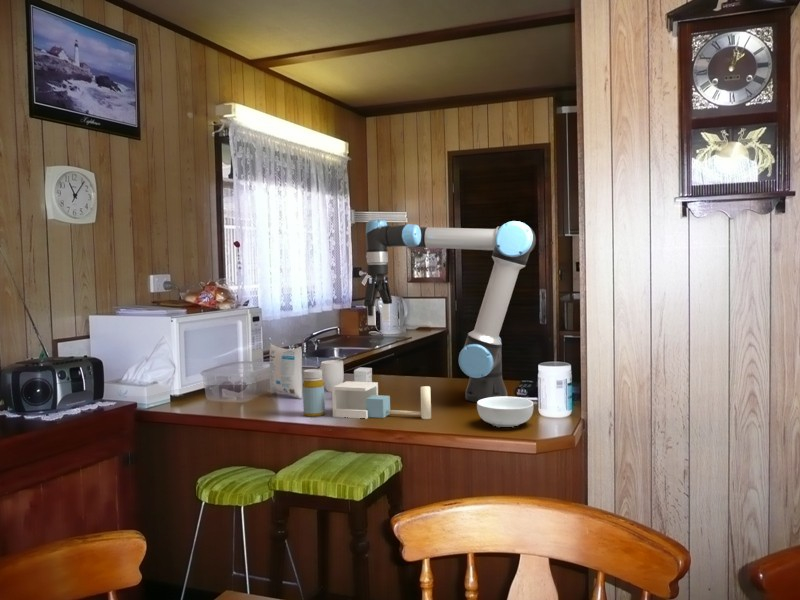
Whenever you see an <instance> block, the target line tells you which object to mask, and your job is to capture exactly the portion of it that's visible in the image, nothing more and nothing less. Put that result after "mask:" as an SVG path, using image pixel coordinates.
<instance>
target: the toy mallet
mask: <svg viewBox="0 0 800 600" xmlns="http://www.w3.org/2000/svg"><path fill="white" fill-rule="evenodd" d="M419 388H420V390H419V391H420V411H418V410H417V411H416V410H401V409H399V410H397V409H391V397H390V396H391V395H383V394H382V395H381V394H380V395H379V394H378V395H372V396H370V397H368V398H366V410H368V418H381V419H384V418H386V417H387V416H389V415H390V414H391V415H410V416H420V418H421V419H422V420H430V419H432V403H431V401H432V398H431V386H428V385H425V386H424V385H423V386H420V387H419Z"/></svg>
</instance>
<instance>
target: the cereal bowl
mask: <svg viewBox="0 0 800 600" xmlns="http://www.w3.org/2000/svg"><path fill="white" fill-rule="evenodd" d="M476 409H477V412H478V416H479V417H480V418H481V419H482V420H483V421H484V422H485V423H488V424H491V425H492V426H493V427H495V426H496V428H500V427H512V428H515V427H514V426H517V427H518V426H520V425H521V424H524V423H526V422H527V421H529V420H530V419H531V417H532V416H533V413H534V402H533V401H532V400H530V399H528V398H524V397H519V396H508V395H507V396H500V397H489V398H484V399H481V400H479V401H478V402H476Z"/></svg>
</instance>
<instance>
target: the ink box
mask: <svg viewBox="0 0 800 600" xmlns="http://www.w3.org/2000/svg"><path fill="white" fill-rule="evenodd" d="M353 382H373V368H372V367H357V368H355V369H354V370H353Z"/></svg>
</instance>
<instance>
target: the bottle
mask: <svg viewBox="0 0 800 600" xmlns="http://www.w3.org/2000/svg"><path fill="white" fill-rule="evenodd" d="M302 400H303V402H302V403H303V404H302V405H303V406H302V407H303V415H304V416H305V417H307V418H317V417H322V416H324V414H325V411H326V409H325V407H326V406H325V385H324V383H323V380H322V370H321V369H319V368H311V369H305V370H303V381H302Z"/></svg>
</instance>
